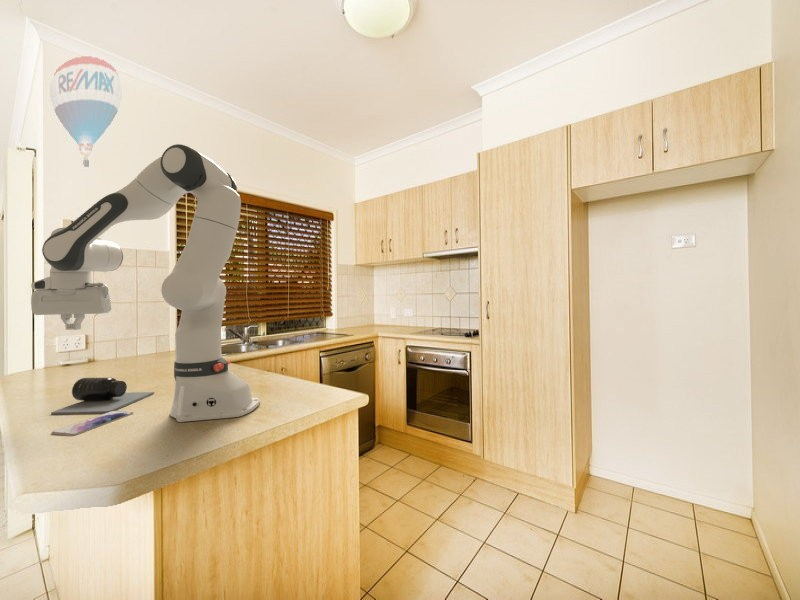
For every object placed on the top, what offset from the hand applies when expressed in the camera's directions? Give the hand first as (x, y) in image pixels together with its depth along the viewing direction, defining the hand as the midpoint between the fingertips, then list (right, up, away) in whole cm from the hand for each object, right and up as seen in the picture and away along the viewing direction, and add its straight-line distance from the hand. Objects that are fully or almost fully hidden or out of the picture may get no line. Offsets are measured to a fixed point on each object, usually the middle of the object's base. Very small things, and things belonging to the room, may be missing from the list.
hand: (73, 329), depth 101 cm
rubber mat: (+9, -22, +1) cm, 24 cm away
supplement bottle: (0, -18, +2) cm, 18 cm away
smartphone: (+20, -23, -15) cm, 34 cm away
